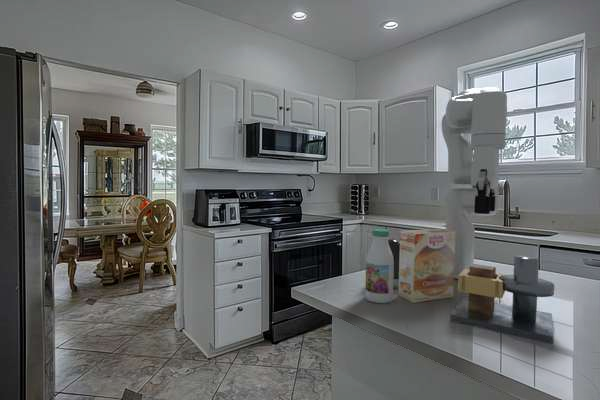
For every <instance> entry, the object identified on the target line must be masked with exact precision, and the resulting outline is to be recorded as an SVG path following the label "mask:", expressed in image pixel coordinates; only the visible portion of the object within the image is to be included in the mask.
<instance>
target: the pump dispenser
mask: <svg viewBox="0 0 600 400" xmlns="http://www.w3.org/2000/svg"><path fill="white" fill-rule="evenodd" d="M388 244H389V247H390V250H391V252H392V255H393V260H394V280H393V289H399V258H400V241H398V240H396V239H393V238H388Z"/></svg>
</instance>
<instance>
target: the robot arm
mask: <svg viewBox="0 0 600 400" xmlns="http://www.w3.org/2000/svg"><path fill="white" fill-rule="evenodd" d="M507 116H508V96H507V93H506V92H505V91H504V90H502V89H500V88H497V87H484V88H483V87H482V88H470V89H464V90H462V91H460V92H459V93H458V94H457V95H456V96H454V97H451V98H449V100H448V101H447V104H446V107H445V114H443V116H442V119H441V132H442V133H441V134H442V137H443V139H444V142H445V145H446V148H447V160H448V161H447V173H448V181H449V183H450V184H451V185H453V186H461V187H462V186H463V187H465V188H463V187H462V188H461V187H460V188H452V189H450V190H449V189H448V191H446V192H445V194H444V196H443V197H444V198H443V204H444V213H445V230H449V231H454V232H456V236H455V262H454V280H458V278H459V274H460V273H461V272H462V271H463V270H464V269H470V266H471V265H473V264H475V263H474V261H475V260H474V259H475V236H476V235H475V233H476V231H475V230H476V229H475V226H474V224H473V223H472V221H471V220H470V219H469V218H468V216H476V217H477V216H479V217H480V216H482V217H486V216H488V217H490V216H494V215H496V214H497V213H498V212H499V209H500V207H499V206H500V196H499V195H500V194H499V191H500V190H499V172H500V171H499V169H500V150H503V149H506V133H507ZM465 134H466V135H470V141H469V140H468V139H467V138H466V137H464V136H463V135H465ZM467 187H471V188H467Z"/></svg>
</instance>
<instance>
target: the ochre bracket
mask: <svg viewBox="0 0 600 400" xmlns="http://www.w3.org/2000/svg"><path fill="white" fill-rule="evenodd" d="M469 271H470V269H464V270H463V271H462V272H461V273H460V274H459V278H458V279H457V280H458V281H457V282H458V283H457V285H458V286H457V292H462V293H467V294H469V293H472V294H478V295H483V296H489V297H495V299H499V300H500V299H503V297H504V295H505V293H506V291H505V290H503V281H502V279H499V277H500V276H503V275H505V276H506V275H507V274H506V273H499V272H496V276H495V279H490V278H484V277H477V276H470V275H469ZM502 278H503V277H502ZM504 278H505V277H504Z"/></svg>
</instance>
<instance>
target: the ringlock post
mask: <svg viewBox="0 0 600 400" xmlns="http://www.w3.org/2000/svg"><path fill="white" fill-rule="evenodd" d="M539 262H540V259H539V257H535V256H528V255H514V257H513V274H506V276H505V275H503V276H500V277H499V279H502V281H503V290H505V292H508V293H511V294H512V304H511V305H507V304H503V303H497V302H496V303H495V302H494V311H493V312H492V313H491V314H490V315H489V314H485V313H481V312H476V311H472V310H468V299H469V297H466V296H465V297H463V298H462V299H461V300H460V302H459V303H458V305H457V306H456V307H455V308H454V309H453V311H452V312H451V314H450V322H456V323H458V324H463V325H468V326H472V327H477V328H481V329H486V330H491V331H493V332H494V331H495V332H499V333H502V334H503V333H504V334H508V335H512V336H518V337H521V338H525V339H529V340H535V341H538V342H542V343H543V342H544V343H548V344H552V345H553V344H554V325H553V323H554V322H553V313H551V312H545V311H540V310H538V306H537V305H538V298H549V297H553V296H555V284H554V283H553V282H552V281H549V280H548V279H547V280H546V279H543V278H540V277H539V266H540V263H539ZM502 277H503V278H502ZM504 277H505V278H504Z"/></svg>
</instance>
